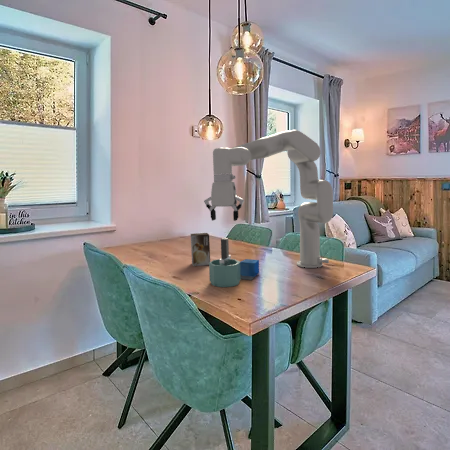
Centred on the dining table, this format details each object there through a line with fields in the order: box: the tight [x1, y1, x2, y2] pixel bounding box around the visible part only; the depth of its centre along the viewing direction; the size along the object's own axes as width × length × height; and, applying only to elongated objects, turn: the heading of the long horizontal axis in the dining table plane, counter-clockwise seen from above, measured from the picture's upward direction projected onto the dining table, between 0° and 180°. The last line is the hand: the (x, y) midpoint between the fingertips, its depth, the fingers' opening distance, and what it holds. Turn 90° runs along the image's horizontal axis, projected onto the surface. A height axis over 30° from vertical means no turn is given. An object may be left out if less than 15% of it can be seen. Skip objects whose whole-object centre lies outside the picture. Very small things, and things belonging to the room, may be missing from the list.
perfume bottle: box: [240, 258, 260, 278], centre depth 160 cm, size 6×6×12 cm
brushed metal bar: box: [219, 237, 232, 266], centre depth 148 cm, size 2×9×18 cm, turn 162°
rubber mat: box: [240, 274, 255, 281], centre depth 157 cm, size 12×9×1 cm
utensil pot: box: [208, 258, 242, 288], centre depth 148 cm, size 12×12×9 cm
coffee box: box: [190, 232, 211, 267], centre depth 180 cm, size 9×6×16 cm
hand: (224, 220), depth 145 cm, fingers open, 9 cm apart
